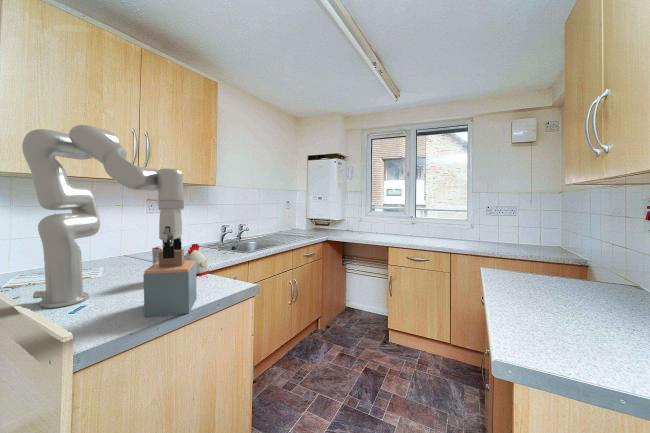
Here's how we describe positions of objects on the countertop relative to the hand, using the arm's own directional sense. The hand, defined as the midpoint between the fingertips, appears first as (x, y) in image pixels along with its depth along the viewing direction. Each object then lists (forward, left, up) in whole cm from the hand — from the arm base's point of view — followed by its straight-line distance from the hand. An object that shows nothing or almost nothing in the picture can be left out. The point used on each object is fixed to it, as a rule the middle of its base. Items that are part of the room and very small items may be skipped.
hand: (172, 255), depth 92 cm
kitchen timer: (-1, +43, -19) cm, 47 cm away
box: (0, 0, -19) cm, 19 cm away
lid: (0, 0, -6) cm, 6 cm away
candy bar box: (-10, +32, -19) cm, 38 cm away
